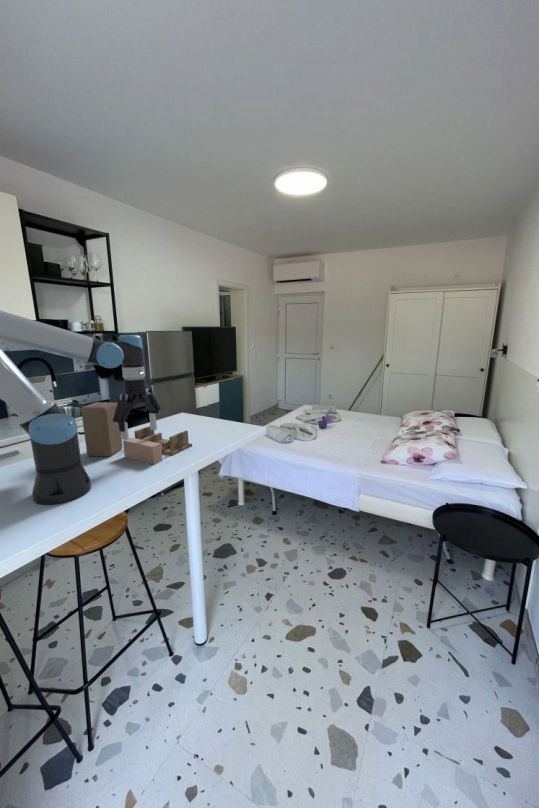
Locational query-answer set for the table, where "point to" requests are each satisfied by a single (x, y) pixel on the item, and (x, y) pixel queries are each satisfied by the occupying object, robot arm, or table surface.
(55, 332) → the robot arm
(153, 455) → the pinkish tan block
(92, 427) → the wooden block
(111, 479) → the table surface
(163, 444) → the rack
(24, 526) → the table surface
